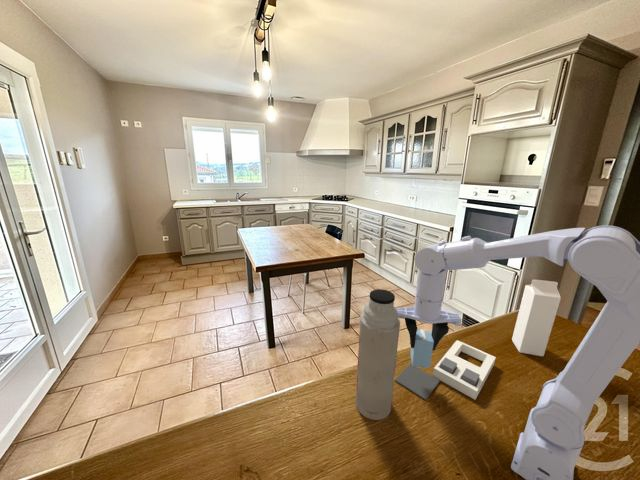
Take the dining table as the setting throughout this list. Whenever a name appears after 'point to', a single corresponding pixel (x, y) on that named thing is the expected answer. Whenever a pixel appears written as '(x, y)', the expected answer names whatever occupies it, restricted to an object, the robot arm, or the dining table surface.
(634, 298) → the robot arm
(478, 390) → the housing
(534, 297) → the milk
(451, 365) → the plunger far
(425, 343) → the block
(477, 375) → the plunger near
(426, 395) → the mat
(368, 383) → the thermos bottle
